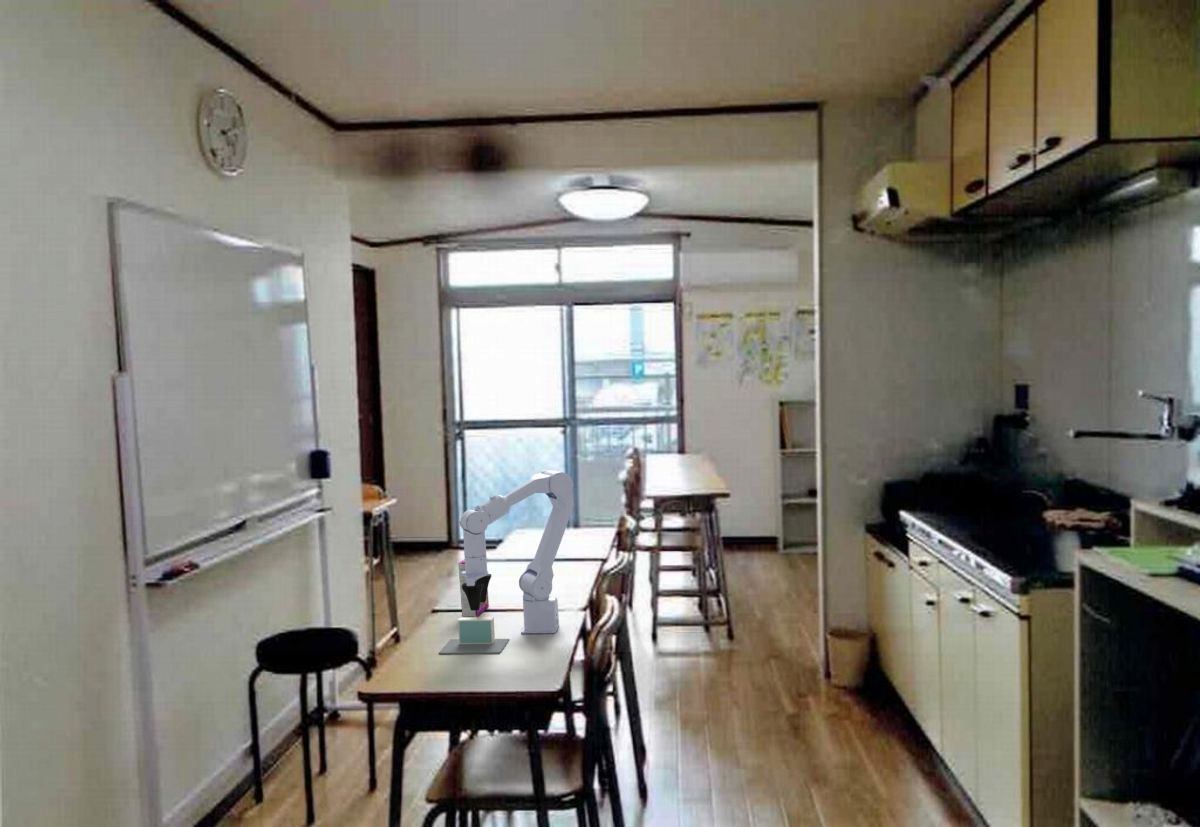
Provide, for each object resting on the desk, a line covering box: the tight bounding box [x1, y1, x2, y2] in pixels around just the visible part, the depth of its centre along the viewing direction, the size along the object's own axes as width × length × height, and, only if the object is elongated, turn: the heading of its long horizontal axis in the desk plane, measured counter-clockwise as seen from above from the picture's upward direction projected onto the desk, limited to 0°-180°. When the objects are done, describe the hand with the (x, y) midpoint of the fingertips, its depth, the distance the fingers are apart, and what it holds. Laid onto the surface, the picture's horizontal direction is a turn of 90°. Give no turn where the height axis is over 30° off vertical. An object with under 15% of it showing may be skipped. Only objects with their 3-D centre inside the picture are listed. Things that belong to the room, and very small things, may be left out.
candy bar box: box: [458, 558, 490, 617], centre depth 262 cm, size 11×5×16 cm, turn 168°
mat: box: [438, 638, 510, 655], centre depth 229 cm, size 16×11×1 cm
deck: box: [457, 616, 496, 644], centre depth 231 cm, size 9×2×6 cm, turn 84°
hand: (478, 606), depth 234 cm, fingers open, 7 cm apart
